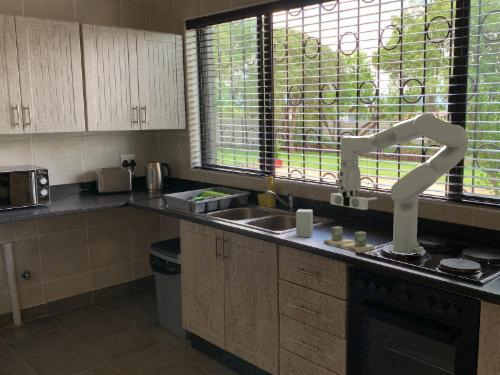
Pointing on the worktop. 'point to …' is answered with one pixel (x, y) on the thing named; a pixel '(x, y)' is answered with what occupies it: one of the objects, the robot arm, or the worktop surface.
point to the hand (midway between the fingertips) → (348, 205)
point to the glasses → (351, 201)
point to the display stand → (349, 241)
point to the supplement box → (304, 222)
